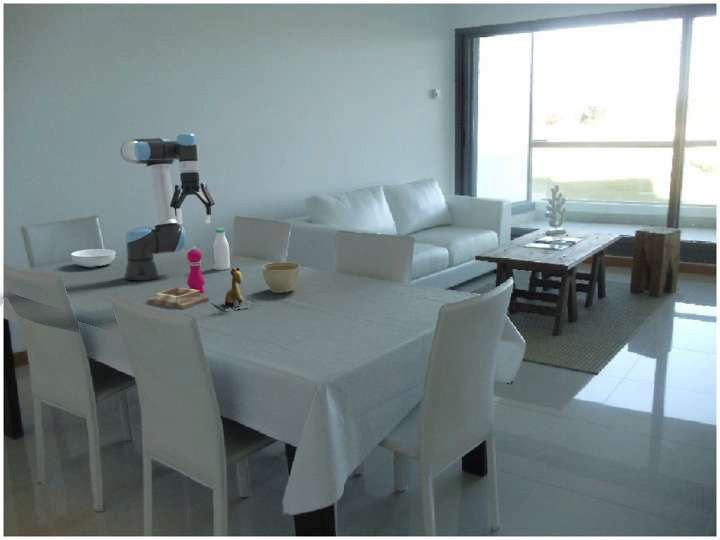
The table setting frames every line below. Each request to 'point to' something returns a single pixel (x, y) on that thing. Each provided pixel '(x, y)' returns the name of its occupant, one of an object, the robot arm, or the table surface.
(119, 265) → the table surface
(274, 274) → the planter bowl
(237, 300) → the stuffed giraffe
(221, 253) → the milk bottle
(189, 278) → the pepper mill
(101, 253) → the serving bowl
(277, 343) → the table surface
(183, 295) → the holder board
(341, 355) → the table surface
